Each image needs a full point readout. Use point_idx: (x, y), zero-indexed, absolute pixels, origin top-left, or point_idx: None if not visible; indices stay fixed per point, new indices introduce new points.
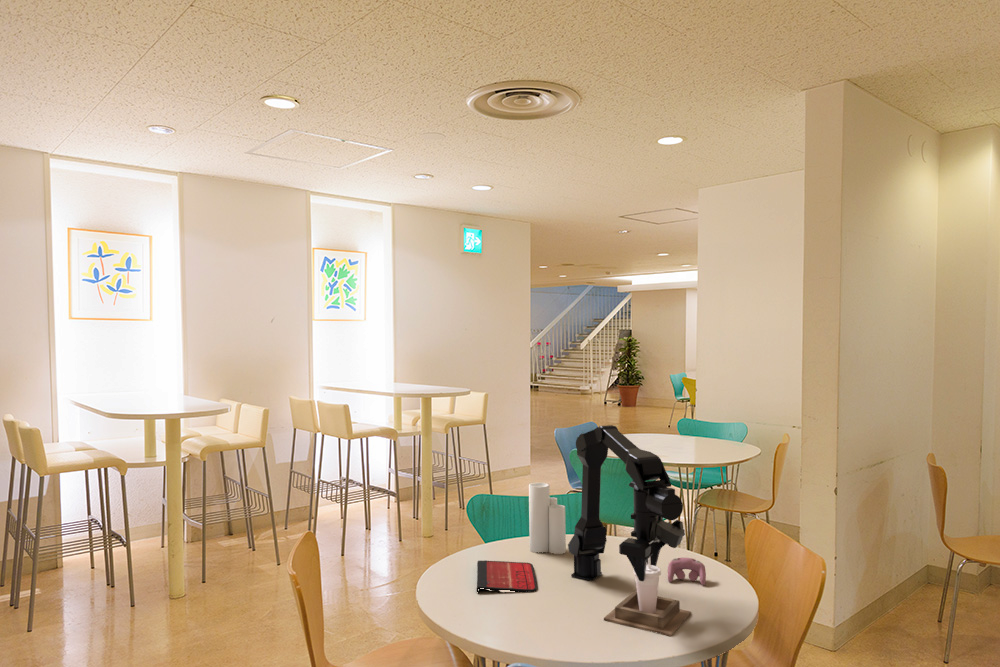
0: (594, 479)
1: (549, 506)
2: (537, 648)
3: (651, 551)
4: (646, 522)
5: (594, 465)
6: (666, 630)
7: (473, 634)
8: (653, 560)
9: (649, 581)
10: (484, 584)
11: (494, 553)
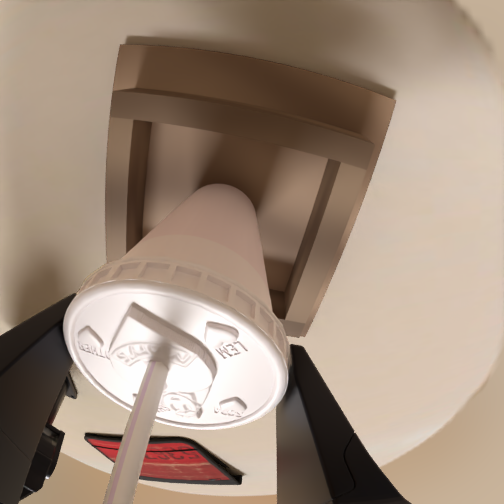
0: None
1: None
2: (457, 390)
3: (9, 426)
4: None
5: None
6: (367, 119)
7: (397, 451)
8: (39, 361)
9: (271, 308)
10: (224, 481)
11: (85, 456)
